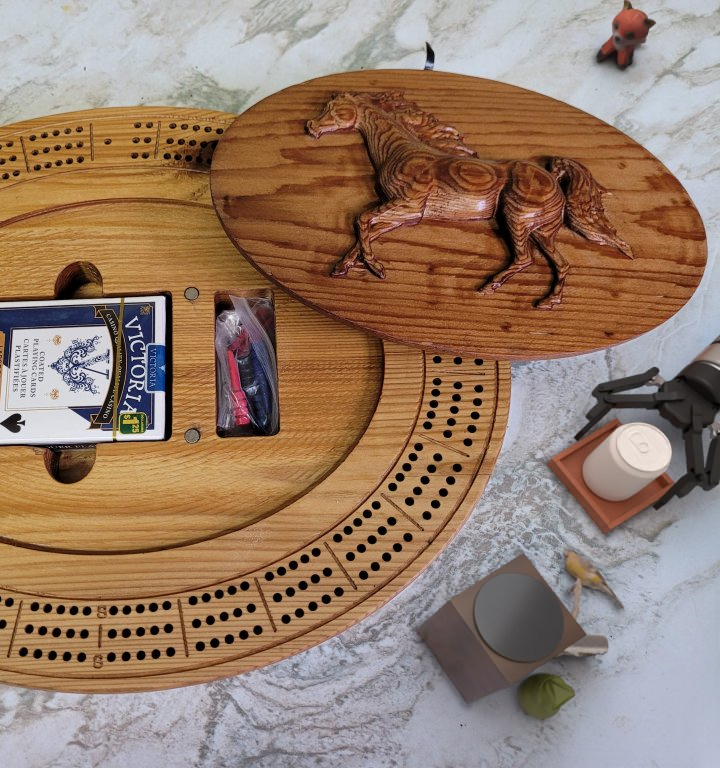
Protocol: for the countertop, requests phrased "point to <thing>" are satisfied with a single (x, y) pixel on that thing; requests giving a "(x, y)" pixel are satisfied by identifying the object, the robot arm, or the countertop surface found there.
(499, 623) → the coaster
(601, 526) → the tray
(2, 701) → the countertop surface
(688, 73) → the countertop surface
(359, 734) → the countertop surface
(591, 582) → the decorative sculpture
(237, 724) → the countertop surface
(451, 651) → the stand
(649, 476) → the beverage can
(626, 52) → the stuffed fox
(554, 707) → the green pointed bulb
